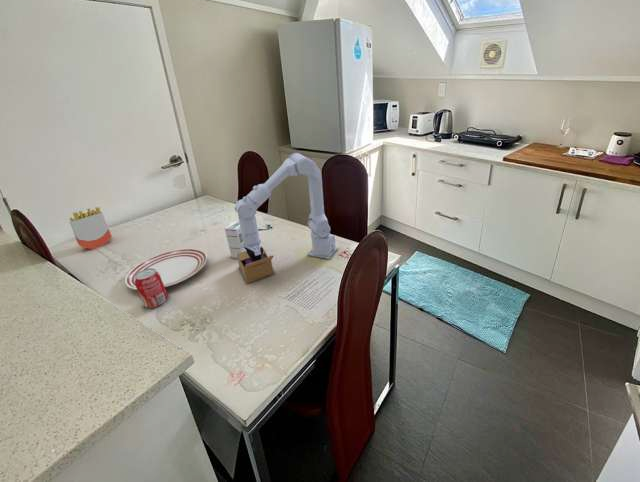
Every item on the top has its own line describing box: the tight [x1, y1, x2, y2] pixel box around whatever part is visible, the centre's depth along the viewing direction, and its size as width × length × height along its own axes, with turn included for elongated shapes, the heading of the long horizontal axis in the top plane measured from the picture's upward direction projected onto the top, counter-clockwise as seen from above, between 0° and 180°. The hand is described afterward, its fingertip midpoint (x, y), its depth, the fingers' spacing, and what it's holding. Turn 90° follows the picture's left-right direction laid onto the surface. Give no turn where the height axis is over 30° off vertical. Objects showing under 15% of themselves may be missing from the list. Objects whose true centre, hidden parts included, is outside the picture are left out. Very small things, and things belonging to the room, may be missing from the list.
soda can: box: [135, 268, 168, 308], centre depth 104 cm, size 7×7×12 cm
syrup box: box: [224, 221, 246, 259], centre depth 130 cm, size 6×6×14 cm
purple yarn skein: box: [245, 254, 266, 269], centre depth 118 cm, size 7×4×3 cm, turn 125°
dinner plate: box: [124, 247, 208, 291], centre depth 121 cm, size 27×27×3 cm
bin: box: [236, 245, 274, 284], centre depth 121 cm, size 12×10×7 cm
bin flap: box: [244, 255, 274, 269], centre depth 113 cm, size 6×10×1 cm
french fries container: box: [69, 206, 112, 250], centre depth 138 cm, size 5×11×18 cm, turn 148°
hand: (255, 262), depth 118 cm, fingers closed on purple yarn skein, 3 cm apart
